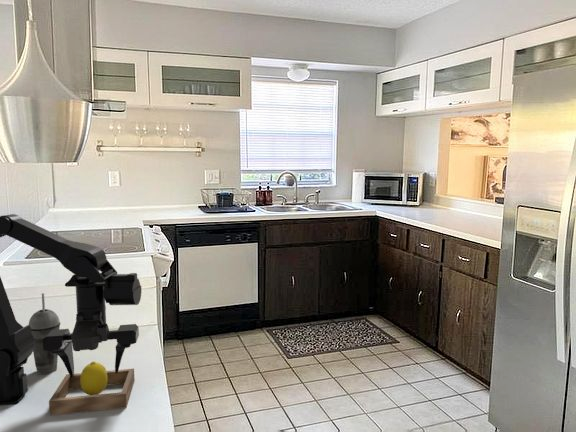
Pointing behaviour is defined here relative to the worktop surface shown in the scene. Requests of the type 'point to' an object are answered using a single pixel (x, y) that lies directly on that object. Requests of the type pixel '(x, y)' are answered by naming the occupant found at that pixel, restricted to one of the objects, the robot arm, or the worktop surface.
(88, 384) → the lemon
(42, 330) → the beverage cup
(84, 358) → the worktop surface
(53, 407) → the box
